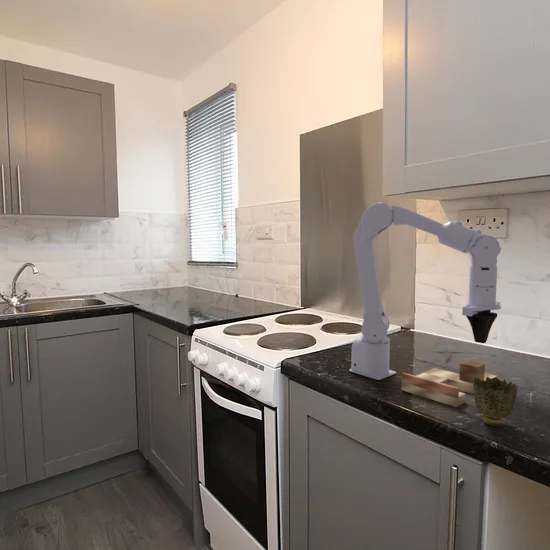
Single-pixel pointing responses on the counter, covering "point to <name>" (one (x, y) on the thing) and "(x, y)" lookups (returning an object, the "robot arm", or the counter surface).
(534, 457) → the counter surface
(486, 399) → the cup
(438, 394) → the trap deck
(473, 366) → the walnut cube
